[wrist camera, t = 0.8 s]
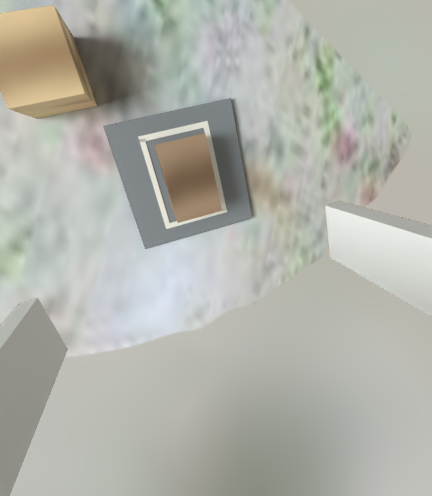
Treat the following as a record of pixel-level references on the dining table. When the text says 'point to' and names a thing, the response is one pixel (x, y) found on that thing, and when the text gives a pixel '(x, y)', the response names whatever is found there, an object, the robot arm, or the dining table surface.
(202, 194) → the base block
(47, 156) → the dining table surface
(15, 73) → the oak block
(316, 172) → the dining table surface
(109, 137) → the mat
